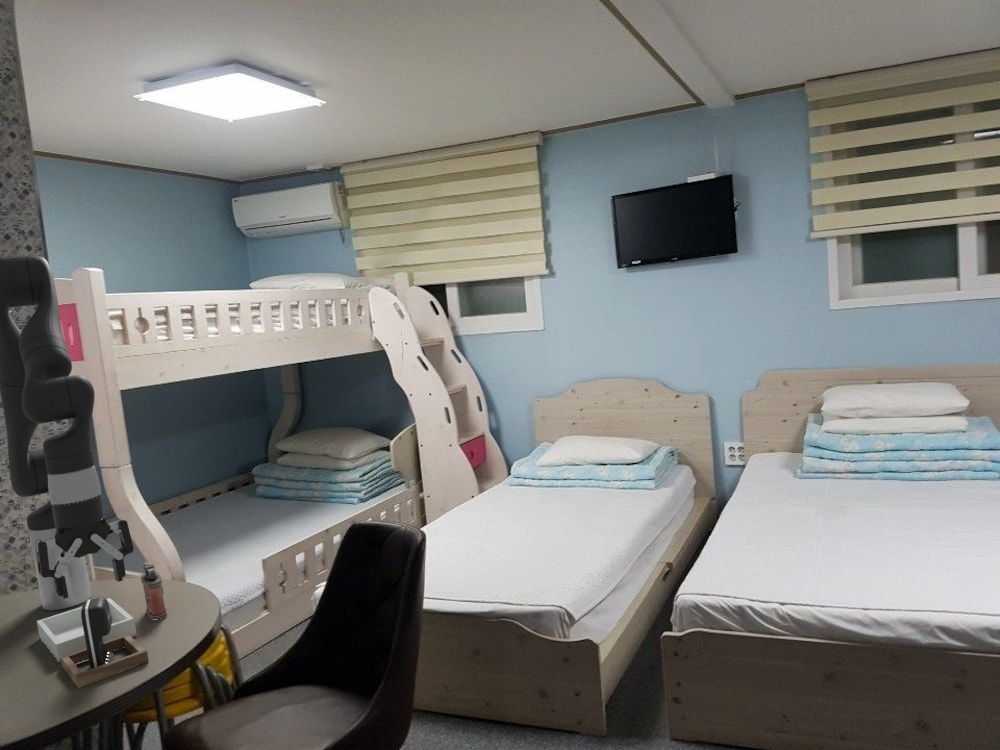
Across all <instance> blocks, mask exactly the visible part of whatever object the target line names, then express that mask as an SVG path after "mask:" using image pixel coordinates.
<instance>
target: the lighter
mask: <svg viewBox="0 0 1000 750" xmlns="http://www.w3.org/2000/svg"><path fill="white" fill-rule="evenodd" d="M142 566H143V570H144V572H143V573H142V574H141V575H140V581H141V584H142V585H143V592H144V598H145V605H146V607H145V610H146V615H147V617H148V616H149V617H150V618H152V619H161V618H164V617H166V616H167V617H168V611H167V607H166V604H165V600H164V599H165V598H164V586H163V585H162V584H163V582H162V581H163V580H162V576H161V574H159V572H156V568H155V565H154V563H152V564H151V563H150V562H149V561H145V562H143V565H142ZM149 617H148V618H149ZM167 617H166V618H167ZM150 618H149V619H150ZM152 619H151V620H152ZM164 619H165V618H164ZM161 620H162V619H161Z"/></svg>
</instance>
